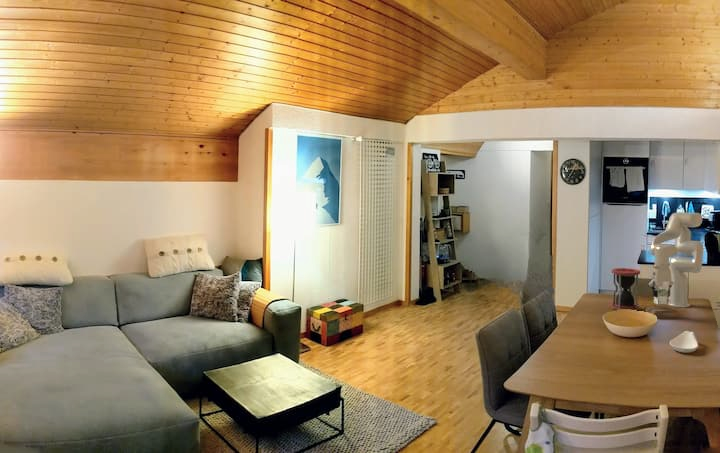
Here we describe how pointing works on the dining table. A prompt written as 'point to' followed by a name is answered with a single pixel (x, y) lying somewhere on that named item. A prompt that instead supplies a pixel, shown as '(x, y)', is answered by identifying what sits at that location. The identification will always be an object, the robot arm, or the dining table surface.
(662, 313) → the walnut block
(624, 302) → the hourglass
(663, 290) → the syrup box
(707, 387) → the dining table surface
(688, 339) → the spoon rest
